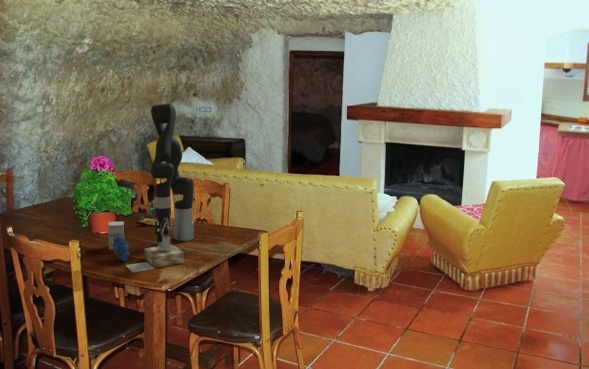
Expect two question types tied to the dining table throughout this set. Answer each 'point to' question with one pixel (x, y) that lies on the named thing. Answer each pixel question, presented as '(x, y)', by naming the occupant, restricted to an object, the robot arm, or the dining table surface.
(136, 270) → the mat
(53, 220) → the dining table surface
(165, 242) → the peg
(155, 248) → the holder
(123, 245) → the grapes
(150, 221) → the frog figurine
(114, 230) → the supplement box
